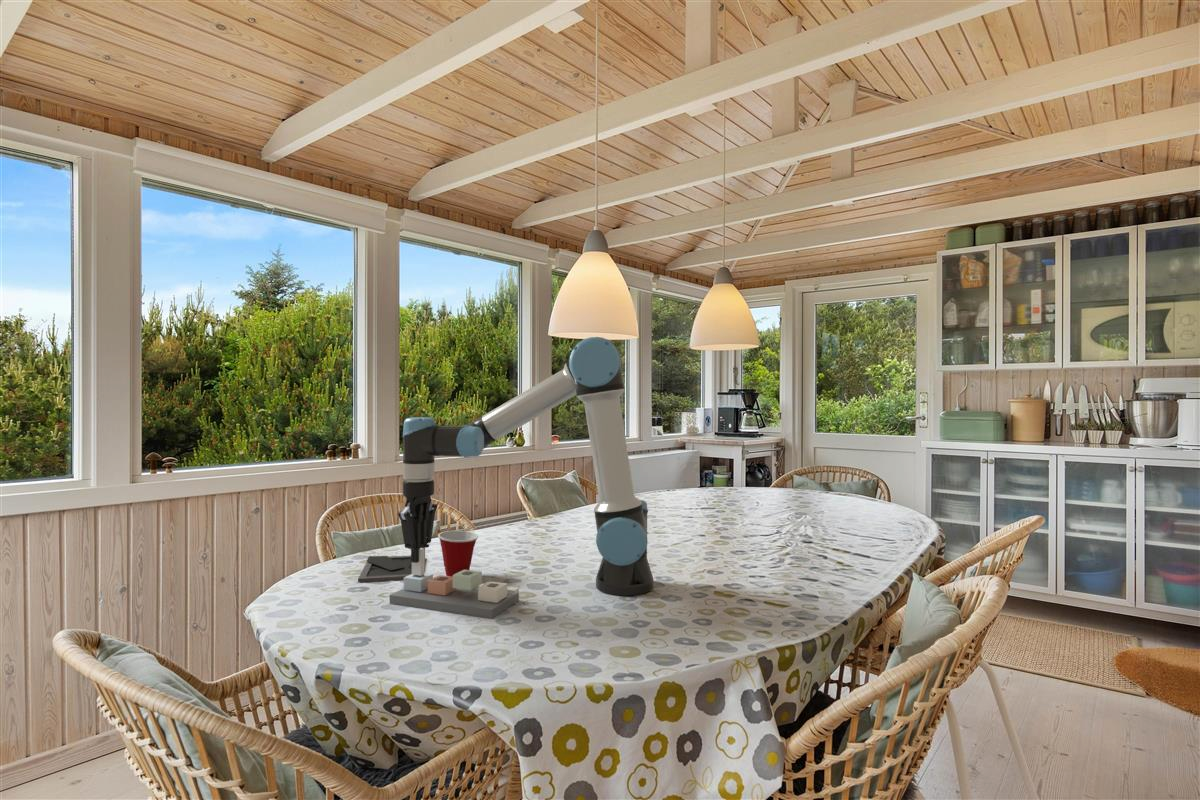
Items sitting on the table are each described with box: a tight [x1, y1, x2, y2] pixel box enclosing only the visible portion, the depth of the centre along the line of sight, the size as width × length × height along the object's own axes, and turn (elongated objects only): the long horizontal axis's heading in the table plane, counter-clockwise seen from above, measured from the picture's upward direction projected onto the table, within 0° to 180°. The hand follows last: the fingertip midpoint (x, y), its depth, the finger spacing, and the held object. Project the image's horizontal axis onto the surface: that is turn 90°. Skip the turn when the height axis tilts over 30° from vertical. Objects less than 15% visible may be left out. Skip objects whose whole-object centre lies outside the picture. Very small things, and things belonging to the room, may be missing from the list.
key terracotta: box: [428, 574, 457, 596], centre depth 151 cm, size 5×5×3 cm
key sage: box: [453, 570, 483, 590], centre depth 149 cm, size 5×5×3 cm
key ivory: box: [478, 581, 508, 603], centre depth 146 cm, size 5×5×3 cm
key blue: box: [403, 572, 434, 592], centre depth 153 cm, size 5×5×3 cm
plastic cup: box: [437, 530, 479, 577], centre depth 169 cm, size 11×11×12 cm
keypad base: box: [389, 576, 520, 620], centre depth 150 cm, size 28×13×3 cm, turn 70°
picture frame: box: [357, 555, 412, 583], centre depth 176 cm, size 16×2×21 cm
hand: (418, 574), depth 153 cm, fingers closed
